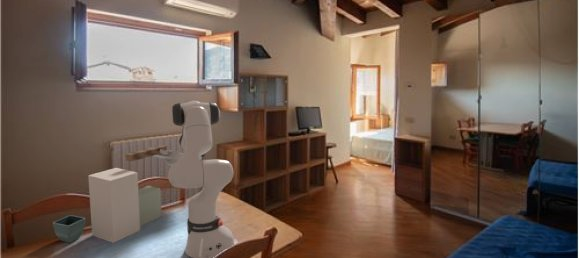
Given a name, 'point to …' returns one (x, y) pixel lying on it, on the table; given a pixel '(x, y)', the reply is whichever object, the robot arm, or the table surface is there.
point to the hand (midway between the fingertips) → (155, 149)
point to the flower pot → (69, 228)
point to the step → (149, 204)
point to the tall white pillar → (114, 204)
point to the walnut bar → (144, 153)
